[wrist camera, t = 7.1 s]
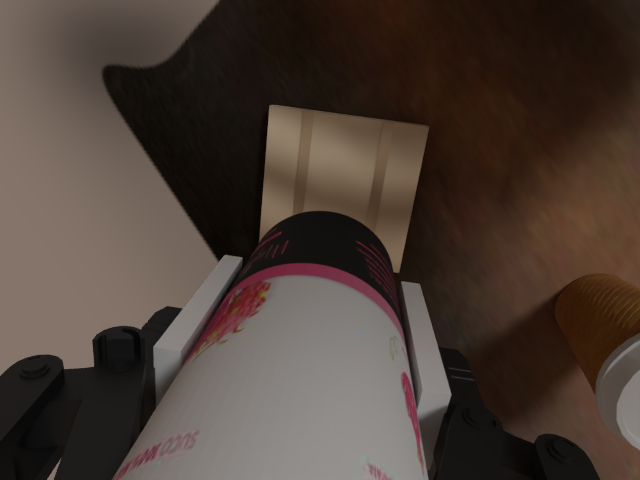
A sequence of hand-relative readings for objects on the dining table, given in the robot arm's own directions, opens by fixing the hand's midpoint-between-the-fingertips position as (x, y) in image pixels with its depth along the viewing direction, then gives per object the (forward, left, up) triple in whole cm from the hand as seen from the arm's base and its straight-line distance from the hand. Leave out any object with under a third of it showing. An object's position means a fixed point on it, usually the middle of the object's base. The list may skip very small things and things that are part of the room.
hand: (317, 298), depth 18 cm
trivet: (0, 0, -19) cm, 19 cm away
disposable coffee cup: (+7, +23, -19) cm, 31 cm away
